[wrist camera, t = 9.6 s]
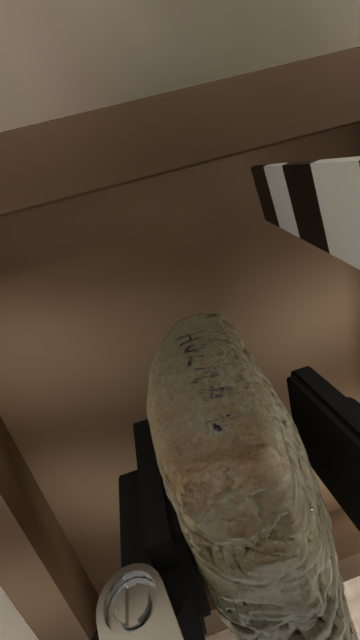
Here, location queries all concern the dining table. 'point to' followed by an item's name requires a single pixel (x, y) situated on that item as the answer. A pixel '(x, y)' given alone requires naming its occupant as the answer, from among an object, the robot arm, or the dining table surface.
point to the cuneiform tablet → (255, 441)
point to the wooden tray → (151, 301)
